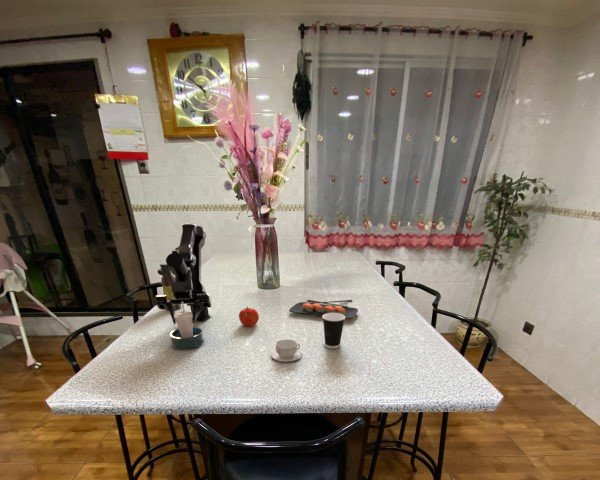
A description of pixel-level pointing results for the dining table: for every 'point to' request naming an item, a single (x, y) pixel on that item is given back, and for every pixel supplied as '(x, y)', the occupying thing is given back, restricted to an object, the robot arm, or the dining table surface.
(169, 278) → the sauce bottle
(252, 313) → the apple
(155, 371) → the dining table surface
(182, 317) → the smoothie
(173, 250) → the robot arm
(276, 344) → the teacup
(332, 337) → the dixie cup
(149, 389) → the dining table surface
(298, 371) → the dining table surface
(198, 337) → the bowl
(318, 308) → the sushi plate
